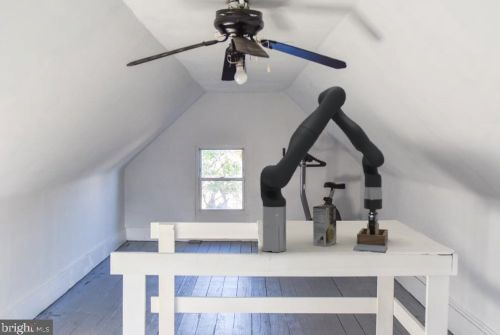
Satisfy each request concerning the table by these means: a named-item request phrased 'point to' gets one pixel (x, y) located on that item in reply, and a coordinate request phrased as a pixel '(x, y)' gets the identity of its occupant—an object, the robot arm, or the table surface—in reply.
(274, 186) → the robot arm
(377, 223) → the oak block
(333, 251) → the table surface
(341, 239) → the table surface
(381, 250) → the slate mat
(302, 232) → the table surface
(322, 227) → the coffee box
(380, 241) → the walnut surround
